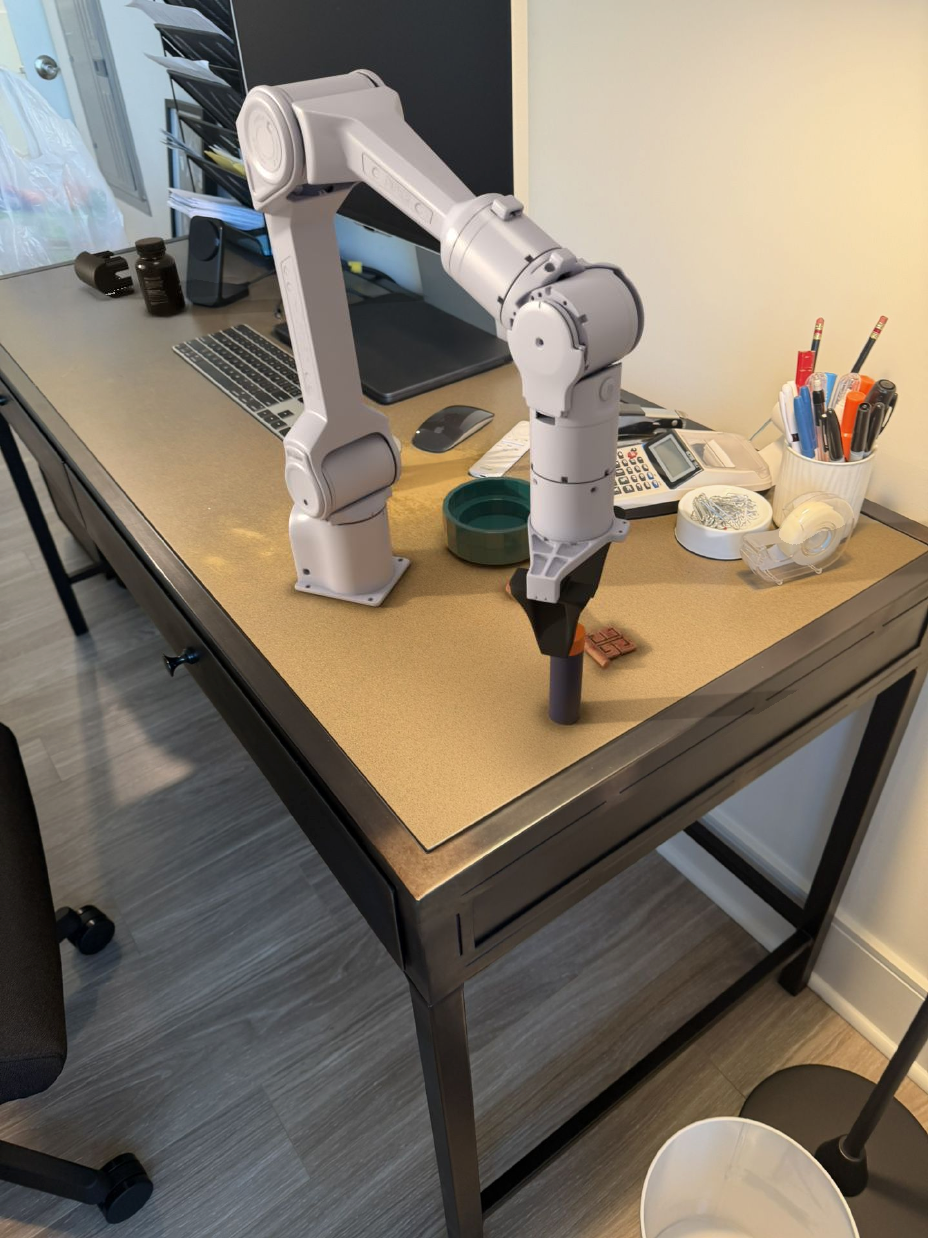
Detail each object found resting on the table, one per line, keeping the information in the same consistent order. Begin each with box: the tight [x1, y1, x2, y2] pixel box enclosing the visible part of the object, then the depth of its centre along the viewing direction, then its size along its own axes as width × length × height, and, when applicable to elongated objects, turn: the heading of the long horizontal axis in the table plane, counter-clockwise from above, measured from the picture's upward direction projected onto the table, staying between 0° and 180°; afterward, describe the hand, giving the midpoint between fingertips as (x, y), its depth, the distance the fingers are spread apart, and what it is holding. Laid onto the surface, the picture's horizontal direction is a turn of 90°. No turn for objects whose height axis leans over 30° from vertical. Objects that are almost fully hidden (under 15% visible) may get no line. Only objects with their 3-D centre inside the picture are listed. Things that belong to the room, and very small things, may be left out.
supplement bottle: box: [134, 236, 187, 317], centre depth 150 cm, size 7×7×12 cm
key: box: [505, 580, 638, 669], centre depth 81 cm, size 6×1×15 cm
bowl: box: [441, 476, 531, 566], centre depth 91 cm, size 11×11×4 cm
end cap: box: [73, 250, 135, 299], centre depth 162 cm, size 10×7×7 cm
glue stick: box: [548, 622, 587, 726], centre depth 69 cm, size 3×3×9 cm
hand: (569, 622), depth 66 cm, fingers open, 7 cm apart
